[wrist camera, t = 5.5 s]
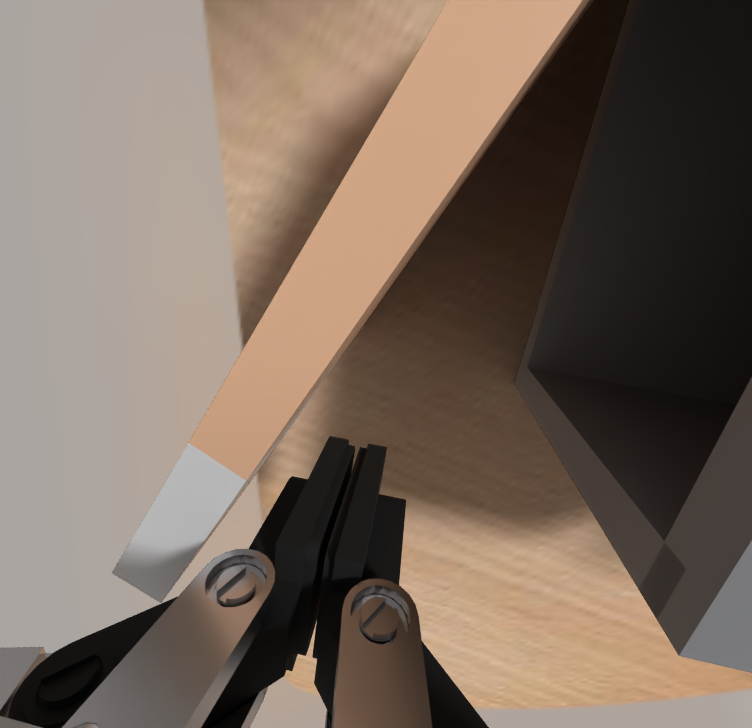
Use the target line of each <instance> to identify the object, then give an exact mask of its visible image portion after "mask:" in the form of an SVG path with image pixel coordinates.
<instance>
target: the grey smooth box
mask: <svg viewBox="0 0 752 728" xmlns="http://www.w3.org/2000/svg"><path fill="white" fill-rule="evenodd" d="M514 385H515V386H516V388H517V389H518V391H519V393H520V394H521V396H522V398H523V399H524V401H525V403H526V404H527V406H528V408H529V409H530V411H531V413H532V414H533V416H534V418H535V419H536V421H537V422H538V424H539V426H540V427H541V429H542V431H543V432H544V434H545V436H546V437H547V439H548V441H549V442H550V444H551V446H552V447H553V449H554V450H555V452H556V454H557V455H558V457H559V459H560V460H561V462H562V464H563V465H564V467H565V469H566V470H567V472H568V474H569V475H570V477H571V479H572V480H573V482H574V483H575V485H576V487H577V488H578V490H579V492H580V493H581V495H582V497H583V498H584V500H585V502H586V503H587V505H588V507H589V508H590V510H591V512H592V513H593V515H594V516H595V518H596V520H597V521H598V523H599V525H600V526H601V528H602V530H603V531H604V533H605V535H606V536H607V538H608V540H609V541H610V543H611V545H612V546H613V548H614V549H615V551H616V553H617V554H618V556H619V558H620V559H621V561H622V563H623V564H624V566H625V568H626V569H627V571H628V573H629V574H630V576H631V578H632V579H633V581H634V582H635V584H636V586H637V587H638V589H639V591H640V592H641V594H642V596H643V597H644V599H645V601H646V602H647V604H648V606H649V607H650V609H651V611H652V612H653V614H654V615H655V617H656V619H657V620H658V622H659V624H660V625H661V627H662V629H663V630H664V632H665V634H666V635H667V637H668V639H669V640H670V642H671V644H672V645H673V647H674V648H675V650H676V652H677V653H678V655H679V656H682V657H686V658H691V659H695V660H699V661H704V662H708V663H712V664H716V665H721V666H725V667H729V668H734V669H738V670H742V671H746V672H751V673H752V0H629V3H628V7H627V10H626V13H625V17H624V20H623V23H622V27H621V30H620V33H619V37H618V40H617V43H616V47H615V50H614V53H613V57H612V60H611V63H610V67H609V70H608V73H607V77H606V80H605V83H604V87H603V90H602V93H601V97H600V100H599V103H598V107H597V110H596V113H595V117H594V120H593V123H592V127H591V130H590V133H589V137H588V140H587V143H586V147H585V150H584V153H583V157H582V160H581V163H580V167H579V170H578V173H577V177H576V180H575V183H574V187H573V190H572V193H571V197H570V200H569V203H568V207H567V210H566V213H565V217H564V220H563V223H562V227H561V230H560V233H559V237H558V240H557V243H556V247H555V250H554V253H553V257H552V260H551V263H550V267H549V270H548V273H547V277H546V280H545V283H544V287H543V290H542V293H541V297H540V300H539V303H538V307H537V310H536V314H535V317H534V320H533V324H532V327H531V330H530V334H529V337H528V340H527V344H526V347H525V350H524V354H523V357H522V360H521V364H520V367H519V370H518V374H517V377H516V380H515V384H514Z"/></svg>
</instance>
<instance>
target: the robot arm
mask: <svg viewBox="0 0 752 728" xmlns="http://www.w3.org/2000/svg"><path fill="white" fill-rule="evenodd" d="M386 450H387V447H383V446H378V445H373V444H368V447H367V448H362V447H360V449H359V452H358V455H357V458H356V461H355V464H354V467H353V470H352V466H353V459H354V452H355V446H351V445H349V440H347V439H342V438H337V437H332V436H330V437H329V439H328V441H327V443H326V445H325V447H324V449H323V451H322V452H321V454H320V456H319V458H318V460H317V462H316V464H315V466H314V468H313V470H312V472H311V474H310V476H309V478H308V479H303V478H298V477H293V476H292V477H291V478H290V479H289V480H288V482H287V484H286V485H285V487H284V489H283V490H282V492H281V494H280V496H279V497H278V499H277V501H276V503H275V504H274V506H273V508H272V509H271V511H270V513H269V515H268V516H267V518H266V520H265V522H264V523H263V525H262V527H261V528H260V530H259V532H258V534H257V535H256V537H255V539H254V541H253V542H252V544H251V546H250V547H249V549H236V550H232V551H229V552H225V553H223V554H222V555H220V556H218V557H216V558H214V559H213V560H212V561H211V562H210V563H208V564H207V565H206V566H205V567H204V568H203V569H202V570H201V572H200V573H199V574H198V575H197V576H196V577H195V579H193V581H192V582H191V583H190V584H189V585H188V586H187V587H186V589H185V590H184V591H183V592H182V593H181V594H180V595H179V596H178V597H176V598H174V599H171V600H169V601H167V602H164V603H162V604H160V605H157V606H155V607H153V608H151V609H148V610H146V611H144V612H141V613H139V614H137V615H134V616H132V617H130V618H127V619H125V620H123V621H121V622H118V623H116V624H114V625H111V626H109V627H107V628H105V629H102V630H100V631H98V632H95V633H93V634H91V635H88V636H86V637H84V638H81V639H79V640H77V641H75V642H72V643H70V644H68V645H67V646H65V647H63V648H61V649H59V650H57V651H56V652H54V653H45V650H44V647H17V648H0V728H250V726H251V724H252V722H253V720H254V718H255V716H256V714H257V712H258V710H259V708H260V706H261V704H262V702H263V700H264V697H265V694H266V691H267V689H268V686H269V685H271V684H272V683H274V682H276V681H277V680H278V679H280V678H282V677H283V676H284V675H285V672H286V670H289V671H292V670H293V667H294V664H295V661H296V657H297V654H301V655H305V656H306V654H307V651H308V648H309V645H310V641H311V638H312V634H313V631H314V628H315V624H316V621H317V624H316V633H315V641H314V649H313V658H317V666H316V674H315V681H314V684H315V686H316V688H317V690H318V692H319V694H320V696H321V698H322V700H323V702H324V704H325V706H326V708H327V713H326V722H325V728H489V727H488V726H487V725H486V724H485V722H484V721H483V720H482V718H481V717H480V716H479V715H478V713H477V712H476V711H475V709H474V708H473V707H472V705H471V704H470V703H469V702H468V700H467V699H466V698H465V696H464V695H463V694H462V692H461V691H460V690H459V689H458V687H457V686H456V685H455V683H454V682H453V681H452V680H451V678H450V677H449V676H448V674H447V673H446V672H445V671H444V669H443V668H442V667H441V665H440V664H439V663H438V661H437V660H436V659H435V658H434V656H433V655H432V654H431V652H430V651H429V650H428V649H427V647H426V646H425V645H424V643H423V642H422V640H421V632H420V624H419V616H418V612H417V609H416V605H415V603H414V602H413V600H412V598H411V597H410V595H409V594H408V593H407V592H406V591H405V590H404V589H403V588H402V587H401V586H399V578H400V566H401V554H402V542H403V531H404V519H405V507H406V500H405V499H400V498H395V497H390V496H385V495H380V494H379V491H380V485H381V479H382V473H383V468H384V462H385V456H386Z"/></svg>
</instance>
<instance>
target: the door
mask: <svg viewBox="0 0 752 728" xmlns="http://www.w3.org/2000/svg"><path fill="white" fill-rule="evenodd" d="M593 1H594V0H448V2H447V3H446V5H445V7H444V9H443V10H442V12H441V14H440V15H439V17H438V19H437V20H436V22H435V24H434V26H433V27H432V29H431V31H430V32H429V34H428V36H427V37H426V39H425V41H424V43H423V44H422V46H421V48H420V49H419V51H418V53H417V54H416V56H415V58H414V60H413V61H412V63H411V65H410V66H409V68H408V70H407V72H406V73H405V75H404V77H403V78H402V80H401V82H400V83H399V85H398V87H397V89H396V90H395V92H394V94H393V95H392V97H391V99H390V100H389V102H388V104H387V106H386V107H385V109H384V111H383V112H382V114H381V116H380V117H379V119H378V121H377V123H376V124H375V126H374V128H373V129H372V131H371V133H370V134H369V136H368V138H367V140H366V141H365V143H364V145H363V146H362V148H361V150H360V151H359V153H358V155H357V157H356V158H355V160H354V162H353V163H352V165H351V167H350V168H349V170H348V172H347V174H346V175H345V177H344V179H343V180H342V182H341V184H340V186H339V187H338V189H337V191H336V192H335V194H334V196H333V197H332V199H331V201H330V203H329V204H328V206H327V208H326V209H325V211H324V213H323V214H322V216H321V218H320V220H319V221H318V223H317V225H316V226H315V228H314V230H313V231H312V233H311V235H310V237H309V238H308V240H307V242H306V243H305V245H304V247H303V248H302V250H301V252H300V254H299V255H298V257H297V259H296V260H295V262H294V264H293V265H292V267H291V269H290V271H289V272H288V274H287V276H286V277H285V279H284V281H283V282H282V284H281V286H280V288H279V289H278V291H277V293H276V294H275V296H274V298H273V300H272V301H271V303H270V305H269V306H268V308H267V310H266V311H265V313H264V315H263V317H262V318H261V320H260V322H259V323H258V325H257V327H256V328H255V330H254V332H253V334H252V335H251V337H250V339H249V340H248V342H247V344H246V345H245V347H244V349H243V351H242V352H241V354H240V356H239V357H238V359H237V361H236V362H235V364H234V366H233V368H232V369H231V371H230V373H229V374H228V376H227V378H226V380H225V381H224V383H223V385H222V386H221V388H220V390H219V391H218V393H217V395H216V396H215V398H214V400H213V402H212V403H211V405H210V407H209V408H208V410H207V412H206V414H205V415H204V417H203V419H202V420H201V422H200V424H199V425H198V427H197V429H196V431H195V432H194V434H193V436H192V437H191V439H190V441H189V442H188V444H187V446H186V448H185V449H184V451H183V453H182V454H181V456H180V458H179V460H178V461H177V463H176V465H175V466H174V468H173V470H172V471H171V473H170V475H169V476H168V478H167V480H166V482H165V483H164V485H163V487H162V488H161V490H160V492H159V494H158V495H157V497H156V499H155V500H154V502H153V504H152V505H151V507H150V509H149V511H148V512H147V514H146V516H145V517H144V519H143V521H142V523H141V524H140V526H139V528H138V529H137V531H136V533H135V534H134V536H133V538H132V539H131V541H130V543H129V545H128V546H127V548H126V550H125V552H124V553H123V555H122V556H121V558H120V560H119V562H118V563H117V565H116V567H115V569H114V570H113V572H112V573H113V574H114V575H116V576H118V577H119V578H121V579H123V580H124V581H126V582H128V583H129V584H131V585H132V586H134V587H136V588H137V589H139V590H140V591H142V592H144V593H145V594H147V595H149V596H150V597H152V598H154V599H155V600H157V601H159V602H160V603H161V602H162V601H163V600H164V598H165V597H166V595H167V594H168V593H169V591H170V590H171V589H172V587H173V586H174V585H175V583H176V582H177V581H178V579H179V578H180V577H181V575H182V574H183V572H184V571H185V570H186V568H187V567H188V565H189V564H190V563H191V562H192V560H193V559H194V557H195V556H196V555H197V553H198V552H199V551H200V549H201V548H202V547H203V545H204V544H205V542H206V541H207V540H208V538H209V537H210V536H211V534H212V533H213V532H214V530H215V529H216V527H217V526H218V525H219V523H220V522H221V521H222V519H223V518H224V517H225V515H226V514H227V512H228V511H229V510H230V509H231V507H232V506H233V504H234V503H235V502H236V500H237V499H238V498H239V496H240V495H241V494H242V492H243V491H244V490H245V488H246V487H247V485H248V484H249V483H250V481H251V480H252V479H253V477H254V476H255V475H256V473H257V472H258V471H259V469H260V468H261V466H262V465H263V464H264V462H265V461H266V460H267V458H268V457H269V456H270V454H271V453H272V452H273V450H274V449H275V447H276V446H277V445H278V443H279V442H280V441H281V439H282V438H283V437H284V435H285V434H286V432H287V431H288V430H289V428H290V427H291V426H292V424H293V423H294V422H295V420H296V419H297V417H298V416H299V415H300V413H301V412H302V410H303V409H304V407H305V406H306V405H307V403H308V402H309V400H310V399H311V398H312V396H313V395H314V393H315V392H316V391H317V389H318V388H319V386H320V385H321V383H322V382H323V381H324V379H325V378H326V376H327V375H328V374H329V372H330V371H331V369H332V368H333V367H334V365H335V364H336V362H337V361H338V359H339V358H340V357H341V355H342V354H343V352H344V351H345V350H346V348H347V347H348V346H349V344H350V343H351V342H352V340H353V339H354V338H355V336H356V335H357V334H358V332H359V331H360V329H361V328H362V327H363V325H364V324H365V322H366V321H367V320H368V318H369V317H370V315H371V314H372V313H373V311H374V310H375V308H376V307H377V305H378V304H379V303H380V301H381V300H382V298H383V297H384V296H385V294H386V293H387V291H388V290H389V289H390V287H391V286H392V284H393V283H394V281H395V280H396V279H397V277H398V276H399V274H400V273H401V272H402V270H403V269H404V267H405V266H406V265H407V263H408V262H409V260H410V259H411V257H412V256H413V255H414V253H415V252H416V250H417V249H418V248H419V246H420V245H421V243H422V242H423V241H424V239H425V238H426V236H427V235H428V233H429V232H430V231H431V229H432V228H433V226H434V225H435V224H436V222H437V221H438V219H439V218H440V217H441V215H442V214H443V212H444V211H445V210H446V208H447V207H448V205H449V204H450V202H451V201H452V200H453V198H454V197H455V195H456V194H457V193H458V191H459V190H460V188H461V187H462V186H463V184H464V183H465V181H466V180H467V178H468V177H469V176H470V174H471V173H472V171H473V170H474V169H475V167H476V166H477V164H478V163H479V162H480V160H481V159H482V157H483V156H484V154H485V153H486V152H487V150H488V149H489V147H490V146H491V145H492V143H493V142H494V140H495V139H496V138H497V136H498V135H499V133H500V132H501V130H502V129H503V128H504V126H505V125H506V123H507V122H508V121H509V119H510V118H511V116H512V115H513V114H514V112H515V111H516V109H517V108H518V106H519V105H520V104H521V102H522V101H523V99H524V98H525V97H526V95H527V94H528V92H529V91H530V90H531V88H532V87H533V85H534V84H535V82H536V81H537V80H538V78H539V77H540V75H541V74H542V73H543V71H544V70H545V68H546V67H547V66H548V64H549V63H550V61H551V60H552V58H553V57H554V56H555V54H556V53H557V51H558V50H559V49H560V47H561V46H562V44H563V43H564V42H565V40H566V39H567V37H568V36H569V35H570V33H571V32H572V30H573V29H574V27H575V26H576V25H577V23H578V22H579V20H580V19H581V18H582V16H583V15H584V13H585V12H586V11H587V9H588V8H589V6H590V5H591V3H592V2H593Z"/></svg>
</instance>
